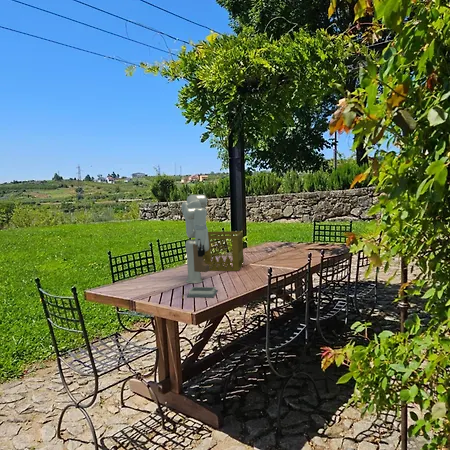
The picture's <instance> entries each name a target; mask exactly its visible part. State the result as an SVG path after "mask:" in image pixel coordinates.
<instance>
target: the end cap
mask: <svg viewBox="0 0 450 450" xmlns="http://www.w3.org/2000/svg"><path fill="white" fill-rule="evenodd" d="M218 292H219V291H218V289H217V288H216V287H215V286H212V287H211V286H209V287H208V286H206V287H205V286H193V287H191V289H189V291H188V294H187V295H186V298H195V299H197V298H198V299H199V298H201V299H203V298H204V299H205V298H207V299H214V298H215V296H216V295H217V293H218Z"/></svg>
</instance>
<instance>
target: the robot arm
mask: <svg viewBox="0 0 450 450" xmlns="http://www.w3.org/2000/svg"><path fill="white" fill-rule="evenodd" d="M207 205H208V199H207V196H206V195H205V194H191V195H188V196H187V198H186V201H184V202H182V203H181V213H182V216H183V217H184V220H185V231H186V236H187V237H188V238H189V239H188V240H186V242H185V245H184V246H185V251H186V259H187V260H186V263H187V279H186V280H185V282H186V283H188V284H199V283H200V284H201V283H203V282H204V279H202V277H201V276H202V275H201V273H202V272H195V271H194V255H193V244H195V245H196V246H197V245H198V257H203V255H205V251H208V250H209V238H208V232H209V230H208V227H207V216H208V212H207V209H206V208H207Z"/></svg>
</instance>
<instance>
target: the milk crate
mask: <svg viewBox="0 0 450 450" xmlns="http://www.w3.org/2000/svg"><path fill="white" fill-rule="evenodd" d="M243 232H244V231H243V230H239V231H234V230H229V231H228V230H227V231H208V238H209V250H208V251H205V255H203V261H204V262H205V263H206V264H209V271H208V272H238V271H240V269H241V268H242V266H243V265H242V263H243V262H245V260H244V259H245V258H244V244H243V243H244V241H243V240H244V237H243V235H244V234H243ZM224 243H225V245H223V244H224ZM217 244H218V246H217ZM228 249H229V252H227V251H228ZM213 250H214V251H215V252H213ZM220 250H222V252H220ZM217 251H218V252H217ZM217 257H218V260H217ZM224 258H225V259H224ZM231 259H232V260H231ZM224 263H225V264H224ZM230 263H233V268H232V267H231V265H230ZM227 264H228V265H227ZM243 264H244V263H243ZM223 265H224V266H223ZM225 266H227V267H225Z"/></svg>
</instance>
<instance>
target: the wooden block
mask: <svg viewBox="0 0 450 450" xmlns="http://www.w3.org/2000/svg"><path fill="white" fill-rule="evenodd" d="M193 255H194V271H195V272H201V273H209V272H210V271H209V264H206V263H205V262H204V261H203V257H198V245H197V246H196V245H195V244H193Z"/></svg>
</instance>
